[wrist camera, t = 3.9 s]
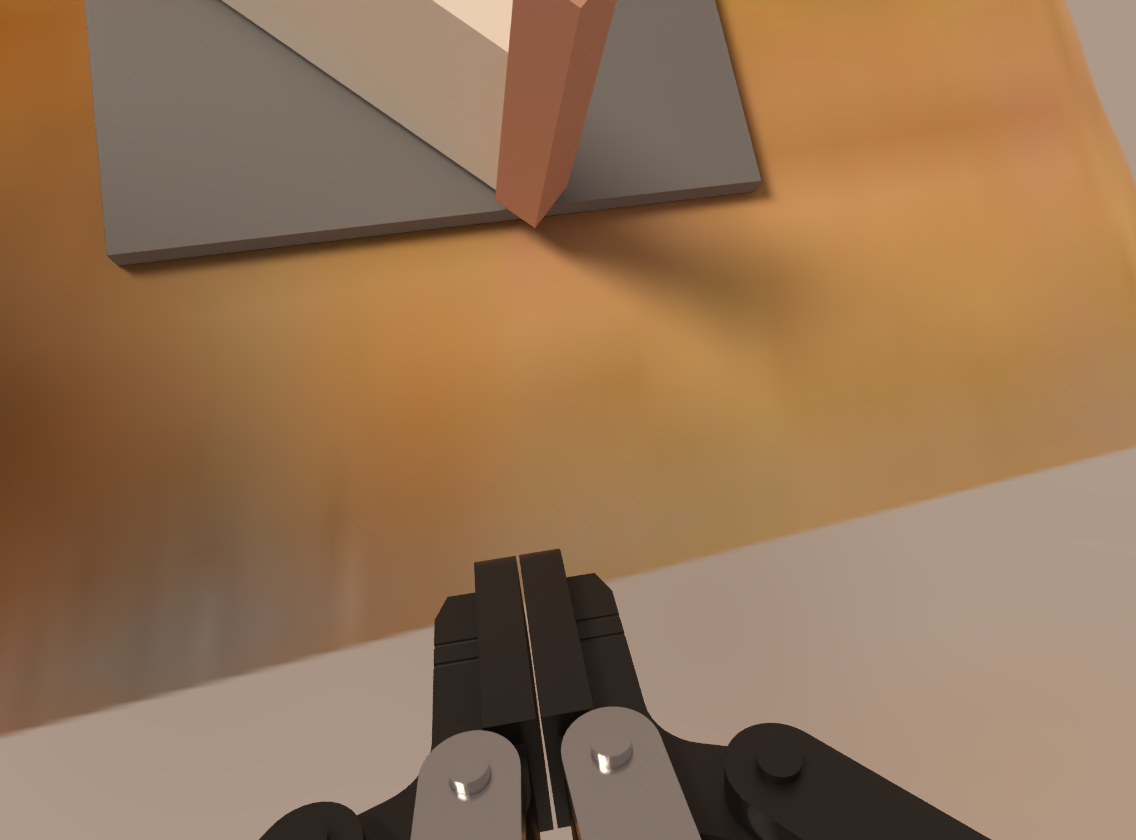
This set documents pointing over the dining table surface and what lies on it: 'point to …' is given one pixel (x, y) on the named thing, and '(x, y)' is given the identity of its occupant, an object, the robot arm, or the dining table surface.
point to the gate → (464, 77)
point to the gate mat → (372, 134)
